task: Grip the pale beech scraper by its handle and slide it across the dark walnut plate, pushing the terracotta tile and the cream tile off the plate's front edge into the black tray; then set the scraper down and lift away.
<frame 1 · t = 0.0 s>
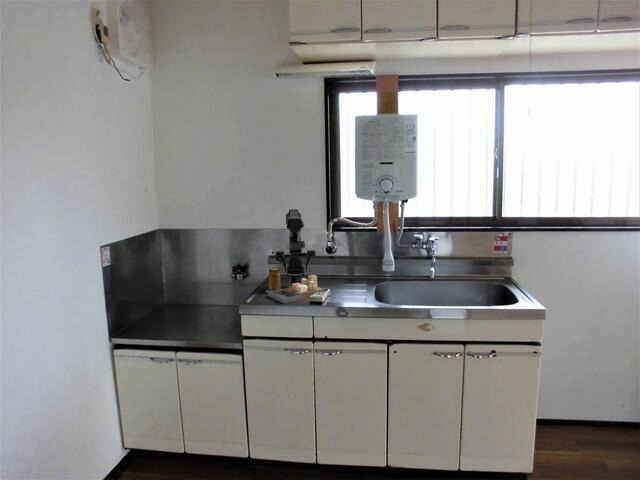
hand: (296, 272, 211), 15 cm above the counter, tool tilted 35°, fingers open, 9 cm apart
tile cream: (302, 290, 224), point 3 cm above the counter, touching plate
tray: (284, 298, 222), on the counter
scraper: (308, 288, 229), point 3 cm above the counter, touching plate
tile terracotta: (297, 288, 229), point 3 cm above the counter, touching plate
plate: (304, 294, 229), on the counter
condiment: (275, 292, 235), on the counter
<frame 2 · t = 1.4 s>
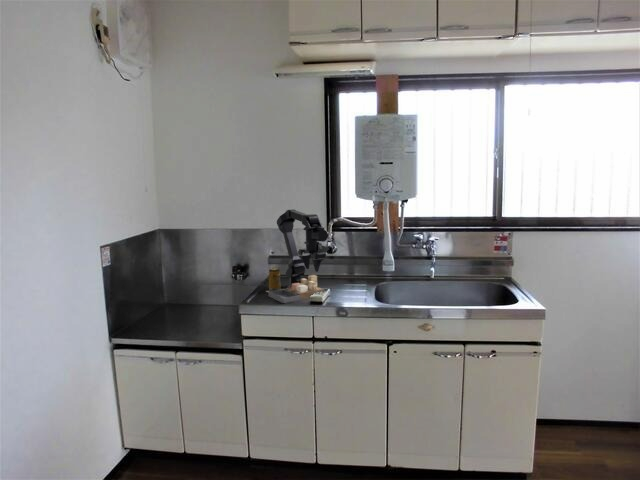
hand: (312, 270, 229), 12 cm above the counter, tool pointing down, fingers open, 9 cm apart
nothing on the counter moved.
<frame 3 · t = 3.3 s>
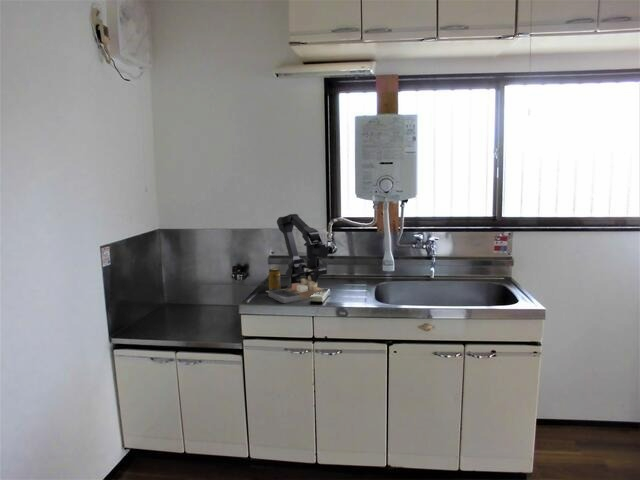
hand: (312, 285, 231), 4 cm above the counter, tool pointing down, fingers closed on scraper, 3 cm apart
scraper: (308, 288, 229), point 3 cm above the counter, touching gripper, plate
everything else where it was.
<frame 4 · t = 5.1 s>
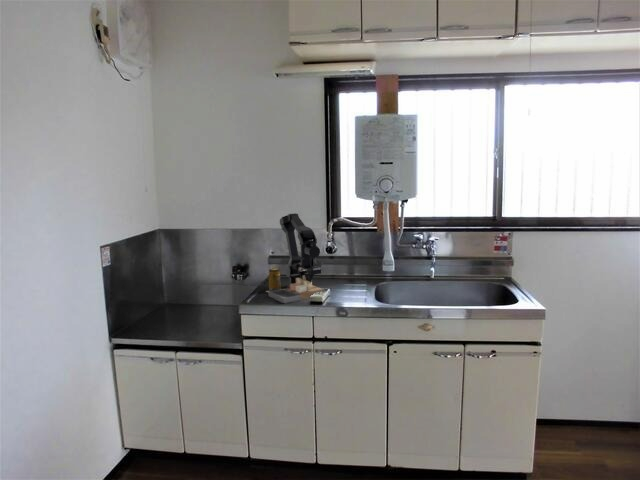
hand: (307, 285, 229), 5 cm above the counter, tool pointing down, fingers closed on scraper, 3 cm apart
tile cream: (301, 291, 224), point 3 cm above the counter, touching plate, scraper
scraper: (303, 287, 228), point 4 cm above the counter, touching gripper, tile cream
tile terracotta: (296, 289, 228), point 3 cm above the counter
everything else where it was.
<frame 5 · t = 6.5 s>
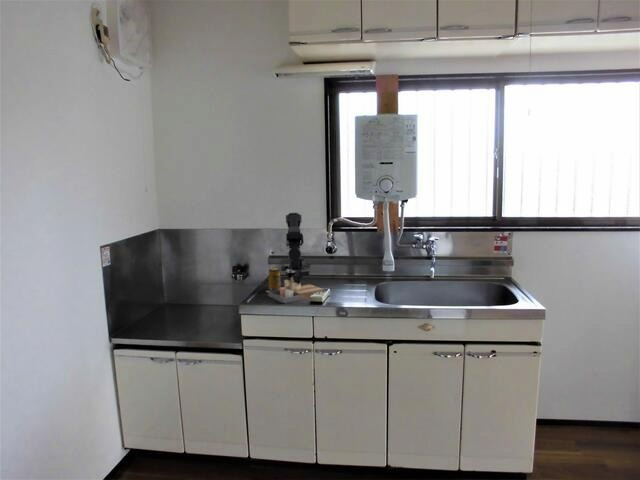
hand: (295, 287, 225), 5 cm above the counter, tool pointing down, fingers closed on scraper, 3 cm apart
tile cream: (291, 293, 221), point 2 cm above the counter, tilted 90°, touching tray
scraper: (292, 289, 224), point 4 cm above the counter, touching gripper
tile terracotta: (286, 291, 225), point 2 cm above the counter, tilted 90°, touching tray
everything else where it was.
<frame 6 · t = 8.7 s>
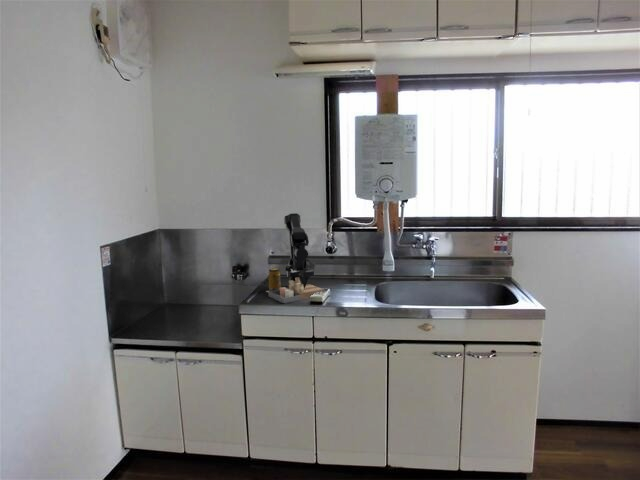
hand: (300, 287, 227), 4 cm above the counter, tool pointing down, fingers closed on scraper, 7 cm apart
scraper: (296, 290, 226), point 3 cm above the counter, touching gripper, plate
everything else where it was.
when the fingers open (4 cm above the counter, at t = 9.1 s): scraper stays where it is, resting on plate.
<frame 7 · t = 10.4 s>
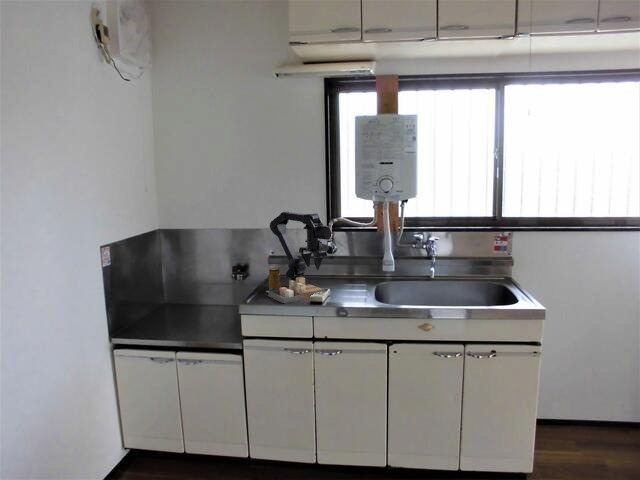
hand: (313, 268, 234), 12 cm above the counter, tool pointing down, fingers open, 9 cm apart
scraper: (296, 290, 226), point 3 cm above the counter, touching plate
everything else where it was.
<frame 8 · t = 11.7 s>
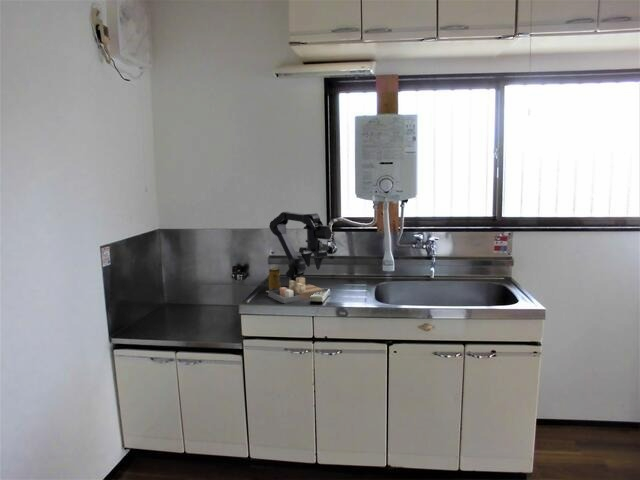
hand: (313, 268, 234), 12 cm above the counter, tool pointing down, fingers open, 9 cm apart
nothing on the counter moved.
at the end: tile terracotta inside the target area (3.6 cm from its centre), point 2.5 cm above the counter; tile cream inside the target area (3.8 cm from its centre), point 2.5 cm above the counter; scraper point 3.0 cm above the counter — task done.
